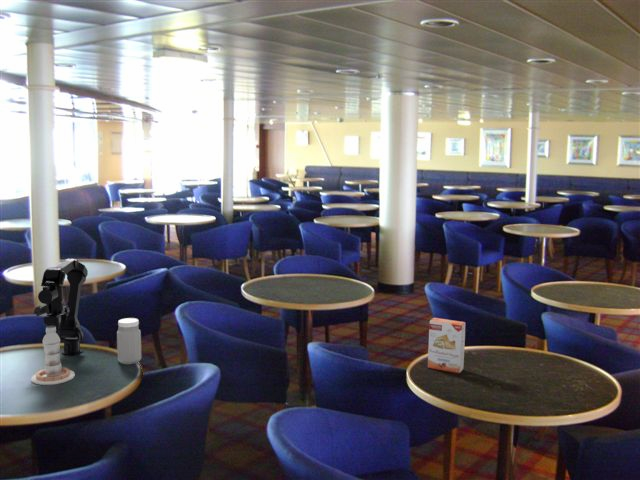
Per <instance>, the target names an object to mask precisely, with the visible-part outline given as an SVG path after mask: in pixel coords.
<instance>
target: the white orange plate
mask: <svg viewBox="0 0 640 480" xmlns="http://www.w3.org/2000/svg"><path fill="white" fill-rule="evenodd" d="M75 376H76V374H75V372H74V371H73V370H70V369H69V368H68V367H63V366H62V372H61V374H60V375H58V376H53V377H49V376H46V375H45V372H44V369H41V370H39V371H37V372H36V373H35V374H33V375H32V376H31V378H30V379H31V383H33V384H35V385H39V386H54V385H59V384H63V383H66V382H69V381H71V380H73V379H74V378H75Z"/></svg>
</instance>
